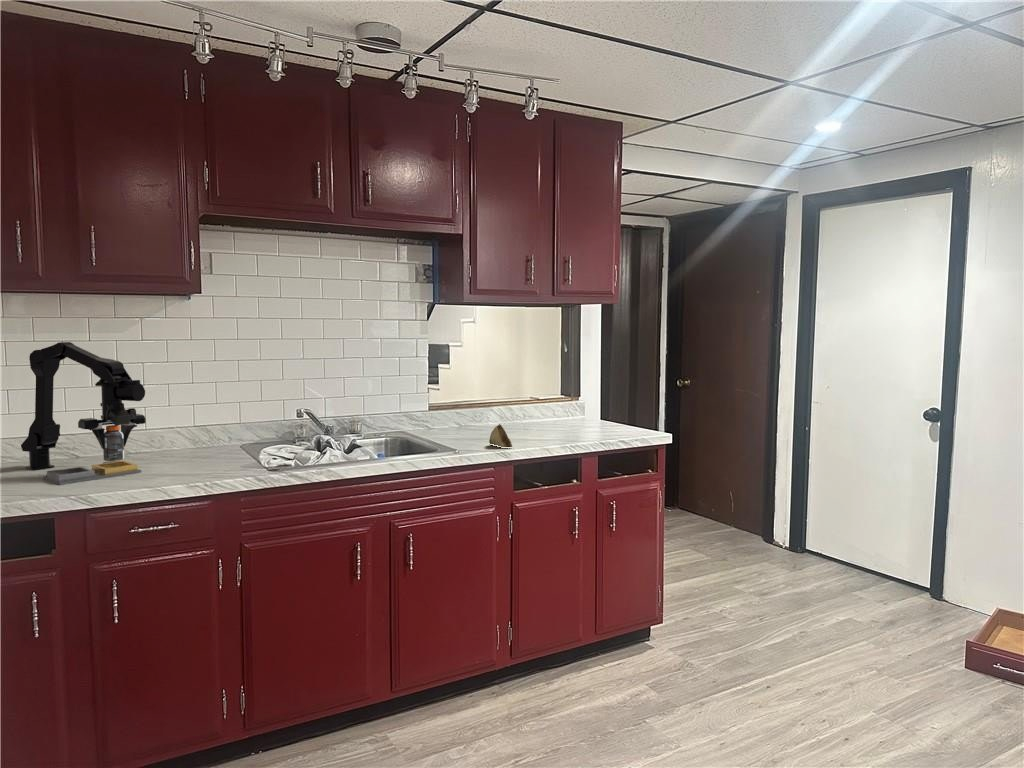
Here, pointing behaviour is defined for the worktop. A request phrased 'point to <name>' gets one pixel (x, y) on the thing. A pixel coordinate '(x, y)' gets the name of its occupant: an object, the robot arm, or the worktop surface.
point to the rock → (500, 437)
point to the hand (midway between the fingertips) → (113, 447)
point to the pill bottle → (113, 443)
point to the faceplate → (91, 472)
